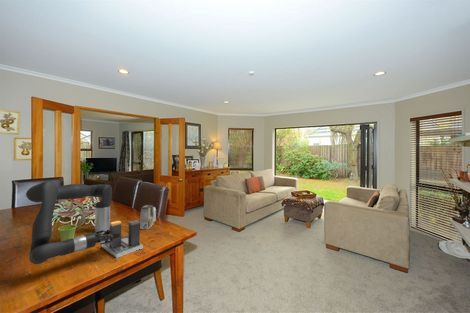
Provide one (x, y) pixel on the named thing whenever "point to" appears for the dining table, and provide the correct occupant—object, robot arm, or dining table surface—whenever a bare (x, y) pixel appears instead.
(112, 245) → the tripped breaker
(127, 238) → the twin post stand
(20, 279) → the dining table surface
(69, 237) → the plant pot
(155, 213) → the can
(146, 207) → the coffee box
